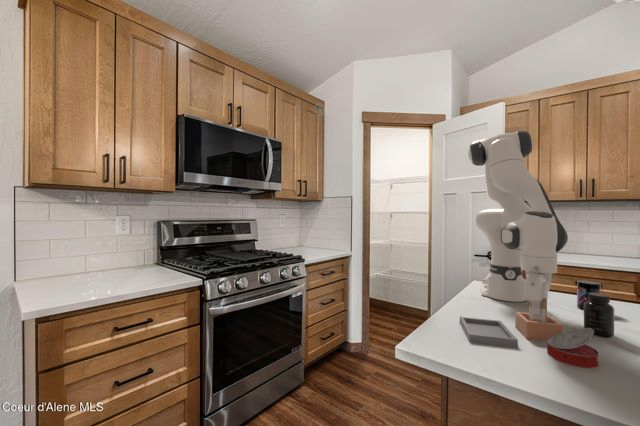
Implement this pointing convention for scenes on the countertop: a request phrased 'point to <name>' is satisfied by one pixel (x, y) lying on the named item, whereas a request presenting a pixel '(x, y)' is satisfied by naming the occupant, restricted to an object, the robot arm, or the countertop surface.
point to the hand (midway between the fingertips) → (537, 311)
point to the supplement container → (586, 291)
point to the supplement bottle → (599, 315)
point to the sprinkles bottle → (543, 311)
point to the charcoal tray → (488, 332)
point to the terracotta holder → (537, 327)
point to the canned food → (573, 348)
